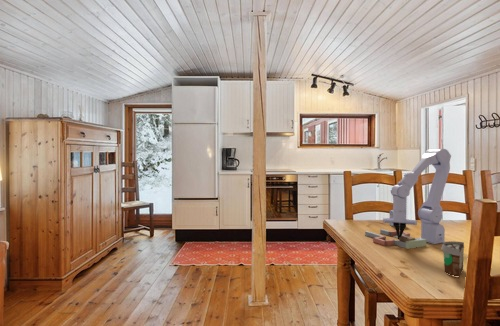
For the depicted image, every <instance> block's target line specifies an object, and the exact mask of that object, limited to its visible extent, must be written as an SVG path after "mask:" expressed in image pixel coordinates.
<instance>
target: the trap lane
mask: <svg viewBox="0 0 500 326" xmlns="http://www.w3.org/2000/svg"><path fill="white" fill-rule="evenodd" d="M379 233H380V234H378V233H376V232H371V231H368V230H365V231H364V235H365V236H366V237H369V238H372V242H373V243H375V244H378V245H380V246H386V247H388V246H392V245H393V246H394V245H395V246H398V247H400V248H404V249H406V250H407V249H408V250H410V248H411V249H415V248H416V247H417V248H422V247H427V242H426V239H417V238H415V240H412V241H406V243H405V242H401V241H399V239H398V236H397V232H396V230H391V231H390V230H387V229H383V228H380V232H379ZM399 234H400V230H399ZM384 235H386V236H384ZM387 236H389V237H392V238H396V239H388V240H387ZM402 236H409V237H411V233H409V232H405V231H403V234H402Z"/></svg>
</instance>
